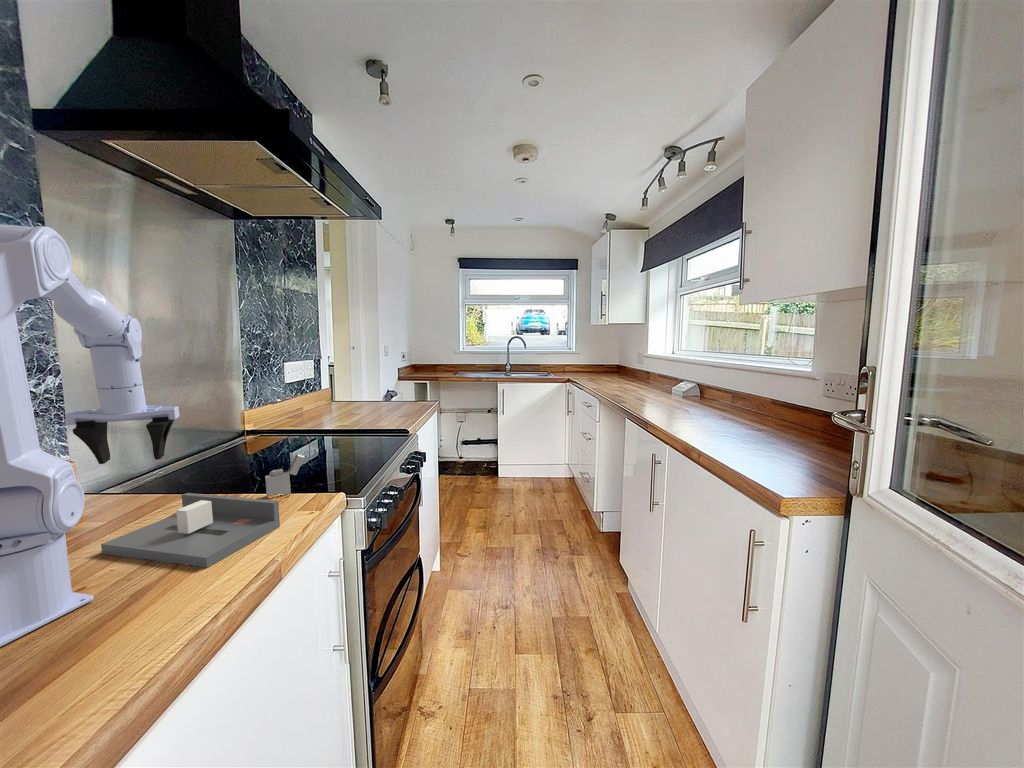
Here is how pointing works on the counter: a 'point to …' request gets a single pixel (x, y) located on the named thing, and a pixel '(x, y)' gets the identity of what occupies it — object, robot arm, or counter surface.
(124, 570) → the counter surface
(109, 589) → the counter surface
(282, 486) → the lighter
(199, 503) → the knob
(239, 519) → the switch panel
